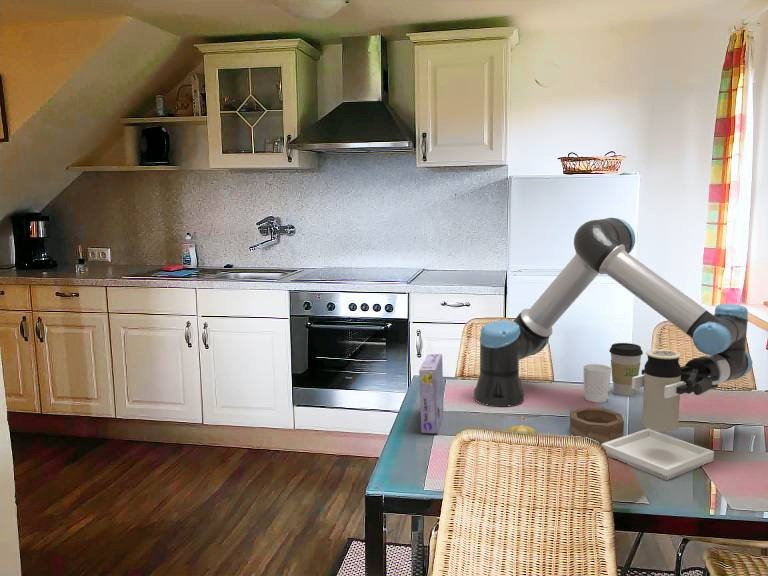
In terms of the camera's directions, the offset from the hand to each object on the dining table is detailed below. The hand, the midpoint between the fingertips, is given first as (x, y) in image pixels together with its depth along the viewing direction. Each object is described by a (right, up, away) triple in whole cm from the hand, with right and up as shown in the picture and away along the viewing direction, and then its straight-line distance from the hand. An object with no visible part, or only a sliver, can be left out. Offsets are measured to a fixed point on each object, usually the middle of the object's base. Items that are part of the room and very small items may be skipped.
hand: (649, 387), depth 155 cm
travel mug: (+4, -10, +4) cm, 12 cm away
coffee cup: (+14, -10, +54) cm, 57 cm away
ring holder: (-6, -15, +21) cm, 26 cm away
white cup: (+3, -11, +49) cm, 50 cm away
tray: (+4, -18, +6) cm, 19 cm away
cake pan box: (-48, -14, +31) cm, 59 cm away
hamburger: (-30, -19, +1) cm, 35 cm away
